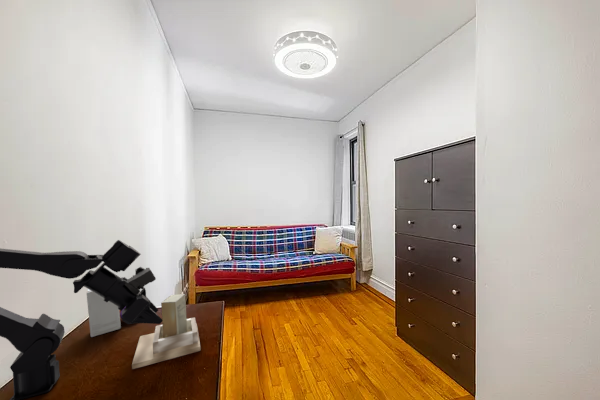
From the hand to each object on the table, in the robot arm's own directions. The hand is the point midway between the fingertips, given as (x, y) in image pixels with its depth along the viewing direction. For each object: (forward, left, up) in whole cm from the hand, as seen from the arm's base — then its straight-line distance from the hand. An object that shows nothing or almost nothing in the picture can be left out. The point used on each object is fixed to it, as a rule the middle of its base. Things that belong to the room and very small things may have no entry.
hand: (159, 316), depth 74 cm
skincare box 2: (+4, 0, -8) cm, 9 cm away
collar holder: (+2, +1, -9) cm, 9 cm away
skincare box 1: (-18, +23, -9) cm, 30 cm away
